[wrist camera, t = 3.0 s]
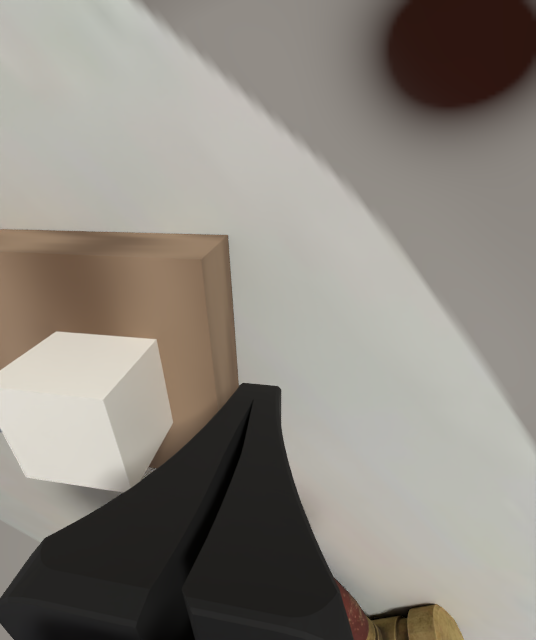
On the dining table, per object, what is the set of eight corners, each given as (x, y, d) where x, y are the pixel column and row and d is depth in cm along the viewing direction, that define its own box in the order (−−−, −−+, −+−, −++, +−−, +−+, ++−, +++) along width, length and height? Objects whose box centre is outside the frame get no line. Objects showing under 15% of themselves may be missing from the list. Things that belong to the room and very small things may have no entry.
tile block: (85, 412, 14) (26, 477, 12) (56, 331, 13) (-23, 385, 10) (173, 422, 14) (133, 493, 11) (156, 339, 12) (102, 399, 9)
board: (69, 407, 19) (28, 449, 16) (1, 229, 14) (-72, 249, 12) (241, 427, 18) (225, 477, 15) (227, 235, 13) (200, 259, 10)
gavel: (127, 537, 19) (257, 483, 15) (165, 472, 23) (277, 415, 19) (341, 726, 23) (489, 724, 19) (342, 643, 27) (464, 626, 23)
